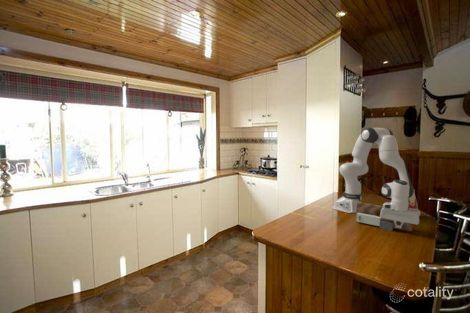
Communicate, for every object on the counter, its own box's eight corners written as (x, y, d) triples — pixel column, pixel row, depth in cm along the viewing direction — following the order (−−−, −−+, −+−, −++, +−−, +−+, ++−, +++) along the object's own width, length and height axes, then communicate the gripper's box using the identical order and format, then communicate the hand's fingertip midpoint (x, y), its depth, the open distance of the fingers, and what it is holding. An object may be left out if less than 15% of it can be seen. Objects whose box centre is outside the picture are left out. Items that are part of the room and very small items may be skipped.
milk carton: (414, 214, 179) (416, 188, 177) (418, 218, 171) (419, 191, 169) (400, 213, 183) (401, 187, 181) (402, 216, 175) (404, 190, 173)
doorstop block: (379, 228, 154) (379, 221, 154) (380, 226, 158) (381, 219, 157) (392, 231, 150) (392, 223, 149) (393, 229, 153) (393, 221, 153)
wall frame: (356, 219, 170) (356, 202, 169) (357, 219, 171) (357, 202, 170) (411, 231, 149) (412, 211, 148) (412, 230, 151) (413, 211, 149)
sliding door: (356, 221, 163) (356, 213, 163) (357, 220, 166) (357, 212, 166) (379, 226, 154) (380, 218, 154) (380, 225, 157) (381, 216, 156)
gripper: (420, 208, 144) (419, 230, 145) (381, 202, 157) (380, 222, 158) (420, 210, 139) (418, 233, 140) (380, 204, 152) (379, 225, 153)
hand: (398, 227), depth 149 cm, fingers closed
